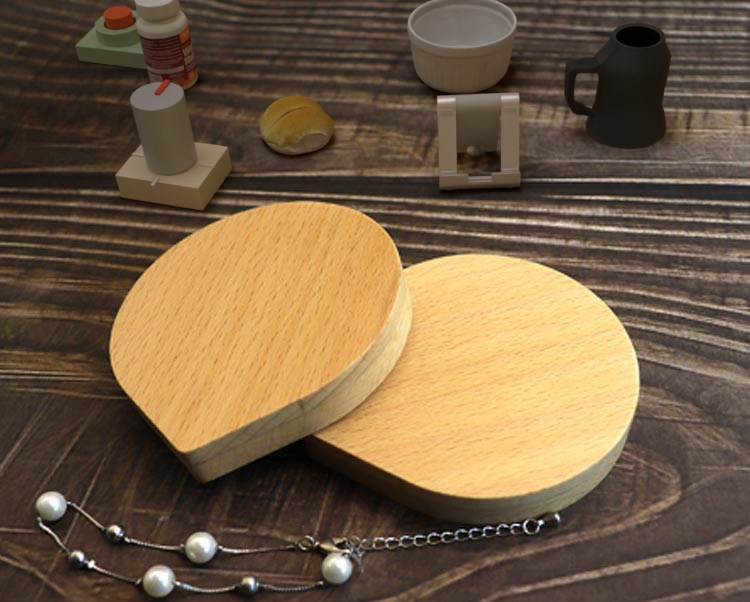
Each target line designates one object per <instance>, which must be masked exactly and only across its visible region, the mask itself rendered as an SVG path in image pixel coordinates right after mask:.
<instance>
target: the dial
mask: <svg viewBox="0 0 750 602" xmlns="http://www.w3.org/2000/svg"><path fill="white" fill-rule="evenodd" d="M186 100H187V99H186V96H185V90H183V89H182V88H181V87H180V86H179V85H177V84H174V83H170V80H166V79H165V80H164V82H155V83H147V84H145V85H142V86H140V87H139V88H137V89H135V91H133V92H132V93H131V95H130V99H129V102H130V106H131V110H132V113H133V117H134V121H135V125H136V129H137V134H138V137H139V140H140V145H142V149H143V153H144V156H145V160H146V164H147V167H148V168H149V170H151V171H152V172H154V173H157V174H161V175H173V174H178V173H181V172H184V171H186V170H188V169H189V168H191V167H192V166H193V165H194V164H195V163H196V161H197V152H196V147H195V142H196V141H195V137H194V134H193V129H192V123H191V119H190V114H189V111H188V110H189V109H188V105H187V101H186Z"/></svg>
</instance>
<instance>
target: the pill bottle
mask: <svg viewBox="0 0 750 602" xmlns="http://www.w3.org/2000/svg"><path fill="white" fill-rule="evenodd" d="M134 4H135V5H134V6H135V9H136V10H135V11H137V14H138V16H139V19H138V21H137V30H138V35H139V38H140V43H141V47H142V50H143V55H144V59H145V63H146V67H147V69H146V70H147V75H148V80H149V84H151V83H155V82H164V80H165V79H166V80H170V83H174V84H177V85H179V86H180V87H181V88H182V89H183V91H185V90H188V89H190V88H192V86H194V85H195V84H196V82H197V81H198V79H199V72H198V67H197V62H196V57H195V53H194V48H193V43H192V38H191V33H190V27H189V23H188V18H187V16H186V14H185V13H184V12H183V11H182V10H181V5H180V1H179V0H134Z"/></svg>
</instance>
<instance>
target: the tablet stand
mask: <svg viewBox="0 0 750 602" xmlns="http://www.w3.org/2000/svg"><path fill="white" fill-rule="evenodd" d="M520 104H521V103H520V92H517V91H515V92H498V93H494V92H493V93H469V94H448V95H436V107H437V108H436V110H437V111H436V112H437V113H436V114H437V139H438V140H437V142H438V183H439V184H438V186H439V191H453V190H472V189H477V190H478V189H499V188H500V189H502V188H507V189H512V188H520V187H521V179H522V177H521V176H522V173H521V171H520ZM499 131H500V171H497V172H491V175H479V176H469V173H458V154H463V153H464V154H465V153H467V152H468V149H469V147H479V146H481V147H483V150H484V153H487V152H489V153H490V152H491V153H492V152H496V151H497V150H498V141H499V140H498V139H499Z"/></svg>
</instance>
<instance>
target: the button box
mask: <svg viewBox="0 0 750 602" xmlns="http://www.w3.org/2000/svg"><path fill="white" fill-rule="evenodd" d="M131 11H132V15H133V20H134V24H133V25H132V26H130V27H128V28H126V29H120V30H110V29H108V28H107V26H106V23H105V19H104V15H101V16H99V18H98V19H97V20H96V21H95V22H94V26H93V27H92V28H91V29H90V30H89V31H88V32H87V33H86V34H85V35H84V36H83V37H82V38H81V39H80V40H79V41H78V42H77V43H76V44H75V45H74V48H75V51H76V54H77V58H78V61H79V62H84V63H94V64H100V65H101V64H102V65H109V66H117V67H124V68H125V67H126V68H132V69H133V68H134V69H142V70H147V67H146V63H145V59H144V55H143V50H142V47H141V43H140V38H139V35H138V30H137V21H138V19H139V16H138V14H137V10H131Z"/></svg>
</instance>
